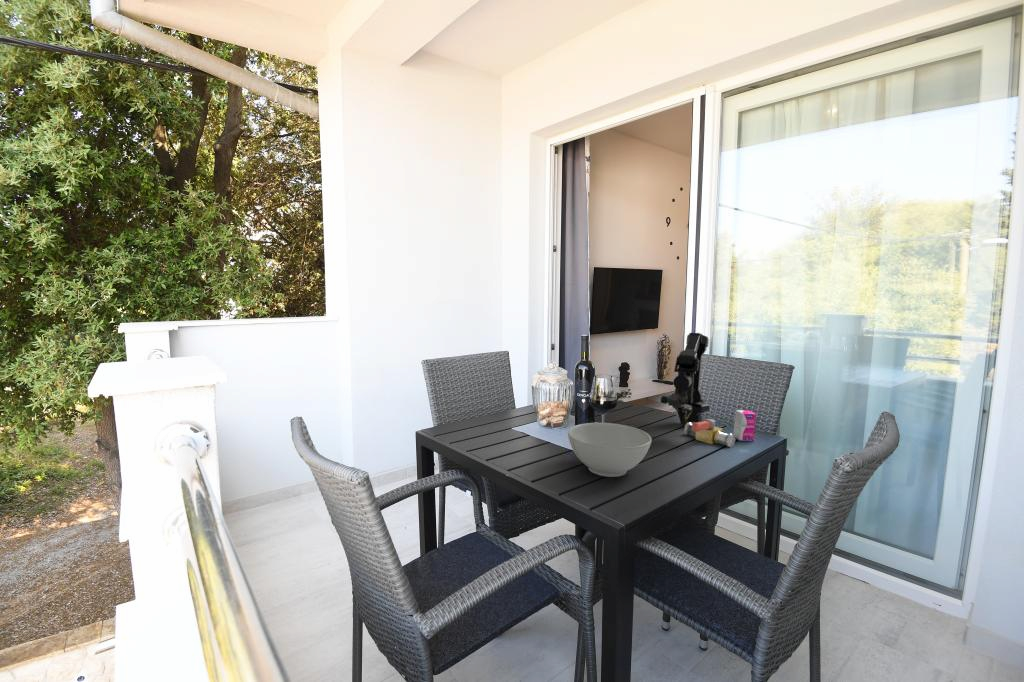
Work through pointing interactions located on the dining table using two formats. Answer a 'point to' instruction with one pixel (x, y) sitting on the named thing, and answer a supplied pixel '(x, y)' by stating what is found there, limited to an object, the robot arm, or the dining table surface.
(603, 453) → the decorative bowl
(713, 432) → the valve body
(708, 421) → the lever
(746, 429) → the supplement box
